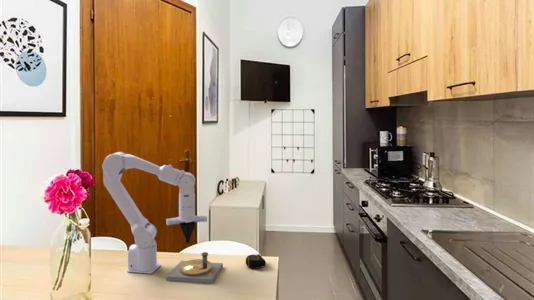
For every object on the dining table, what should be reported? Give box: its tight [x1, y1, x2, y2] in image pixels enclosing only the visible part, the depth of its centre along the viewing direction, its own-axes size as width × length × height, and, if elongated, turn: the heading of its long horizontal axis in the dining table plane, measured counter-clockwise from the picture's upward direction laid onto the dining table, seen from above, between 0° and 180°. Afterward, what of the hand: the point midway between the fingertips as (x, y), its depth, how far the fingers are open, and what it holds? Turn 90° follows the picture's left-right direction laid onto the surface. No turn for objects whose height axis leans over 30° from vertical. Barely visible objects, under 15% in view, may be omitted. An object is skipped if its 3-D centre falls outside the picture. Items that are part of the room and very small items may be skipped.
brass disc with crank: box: [180, 251, 212, 276], centre depth 127 cm, size 11×11×7 cm
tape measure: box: [245, 253, 267, 269], centre depth 135 cm, size 7×7×4 cm
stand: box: [165, 260, 224, 285], centre depth 128 cm, size 16×14×2 cm
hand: (187, 242), depth 133 cm, fingers closed
